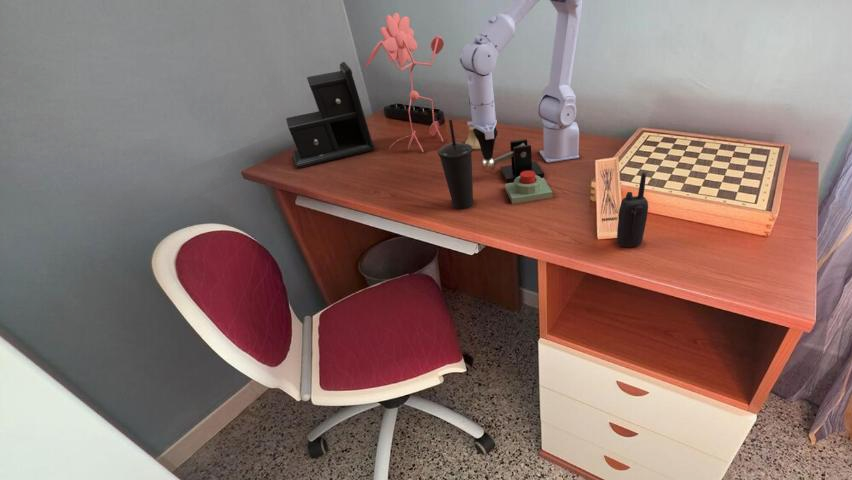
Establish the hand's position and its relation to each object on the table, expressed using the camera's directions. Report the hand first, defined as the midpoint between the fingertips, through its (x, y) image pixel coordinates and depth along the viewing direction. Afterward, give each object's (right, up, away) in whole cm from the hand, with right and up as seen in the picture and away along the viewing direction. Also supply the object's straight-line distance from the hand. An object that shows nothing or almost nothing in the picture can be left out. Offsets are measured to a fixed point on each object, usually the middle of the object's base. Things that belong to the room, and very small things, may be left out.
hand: (487, 157), depth 108 cm
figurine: (-24, +13, +27) cm, 38 cm away
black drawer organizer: (-49, +8, +24) cm, 55 cm away
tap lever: (+5, -1, +2) cm, 5 cm away
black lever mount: (+9, -3, +5) cm, 11 cm away
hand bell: (-4, +11, +23) cm, 26 cm away
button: (+10, -7, -6) cm, 14 cm away
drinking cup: (-5, -13, -6) cm, 16 cm away
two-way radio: (+30, -25, -23) cm, 45 cm away
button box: (+10, -10, -4) cm, 15 cm away
